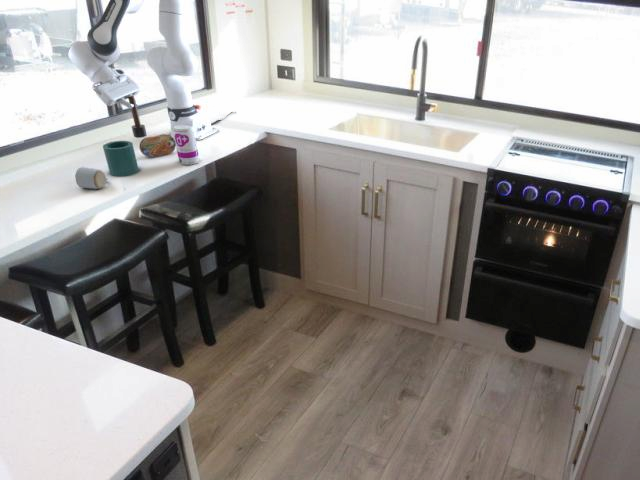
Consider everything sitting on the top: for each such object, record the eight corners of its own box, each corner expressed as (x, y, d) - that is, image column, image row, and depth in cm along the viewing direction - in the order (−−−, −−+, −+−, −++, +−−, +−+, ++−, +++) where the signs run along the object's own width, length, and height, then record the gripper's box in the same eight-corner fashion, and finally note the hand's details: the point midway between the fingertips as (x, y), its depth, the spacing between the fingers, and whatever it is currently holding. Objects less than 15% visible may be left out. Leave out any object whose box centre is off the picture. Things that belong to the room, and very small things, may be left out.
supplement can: (193, 166, 240) (187, 130, 232) (175, 164, 241) (168, 128, 233) (203, 159, 247) (196, 124, 239) (185, 158, 248) (178, 123, 240)
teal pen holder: (126, 165, 240) (120, 139, 234) (144, 169, 236) (138, 143, 230) (104, 173, 232) (96, 146, 226) (122, 178, 228) (115, 150, 222)
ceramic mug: (98, 192, 215) (93, 172, 211) (78, 190, 216) (72, 170, 212) (114, 182, 224) (109, 163, 220) (94, 180, 225) (89, 161, 221)
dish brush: (141, 133, 241) (131, 93, 232) (149, 135, 239) (140, 95, 230) (131, 136, 237) (121, 96, 228) (139, 138, 235) (130, 98, 226)
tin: (143, 159, 246) (139, 140, 242) (140, 157, 248) (136, 138, 244) (177, 152, 255) (173, 133, 250) (174, 150, 257) (170, 131, 252)
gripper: (93, 80, 217) (123, 108, 221) (125, 68, 234) (152, 95, 238) (86, 91, 221) (115, 118, 224) (117, 79, 237) (145, 105, 241)
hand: (134, 106), depth 231 cm, fingers closed on dish brush, 2 cm apart
